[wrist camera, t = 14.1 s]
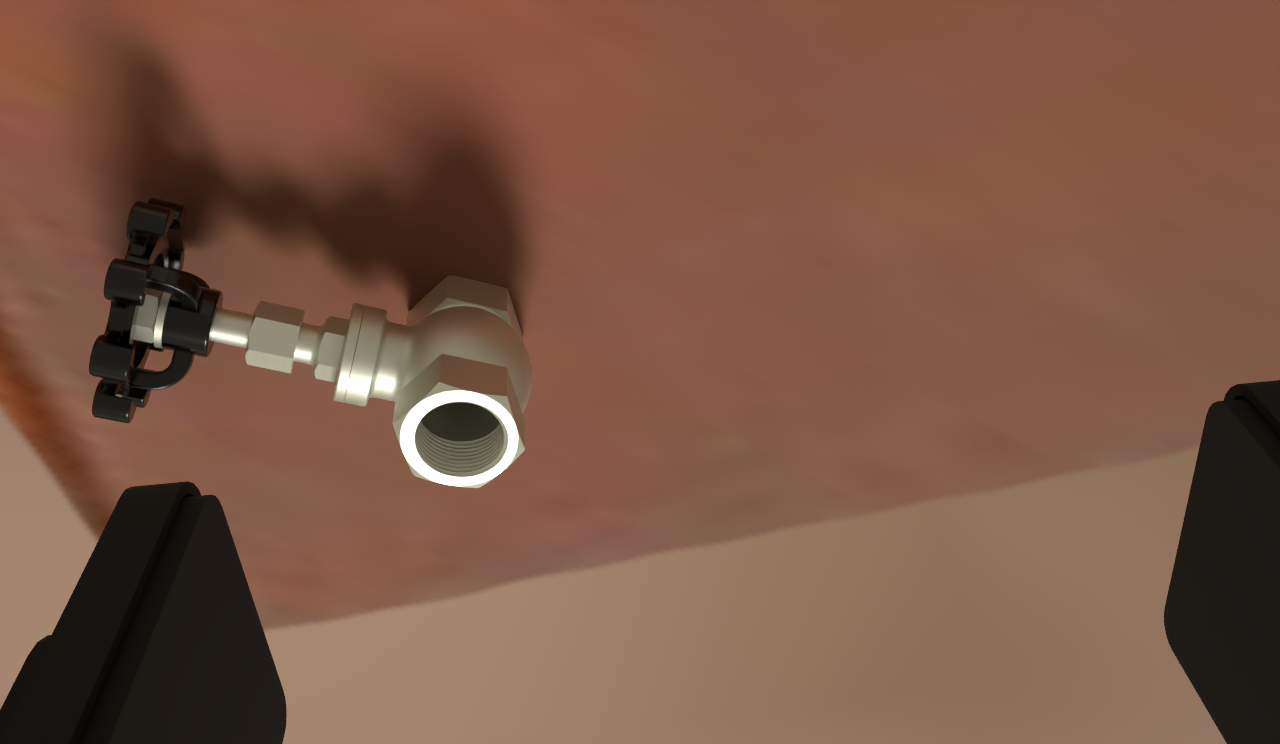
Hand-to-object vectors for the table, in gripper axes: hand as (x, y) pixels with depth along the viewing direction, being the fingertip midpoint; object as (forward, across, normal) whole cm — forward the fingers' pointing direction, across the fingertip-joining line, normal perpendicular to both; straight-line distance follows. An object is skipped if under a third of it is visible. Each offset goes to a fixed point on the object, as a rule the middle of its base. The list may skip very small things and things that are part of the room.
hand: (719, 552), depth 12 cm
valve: (+26, +10, +10) cm, 29 cm away
